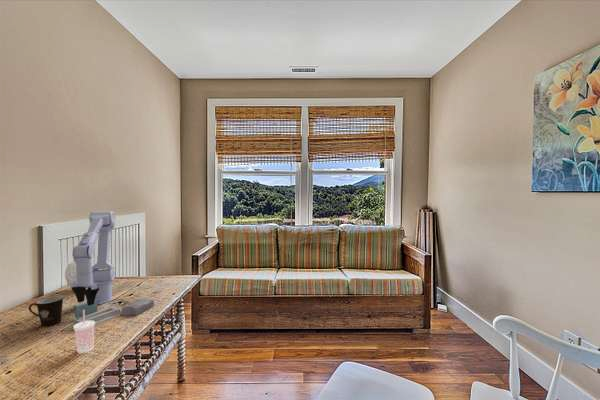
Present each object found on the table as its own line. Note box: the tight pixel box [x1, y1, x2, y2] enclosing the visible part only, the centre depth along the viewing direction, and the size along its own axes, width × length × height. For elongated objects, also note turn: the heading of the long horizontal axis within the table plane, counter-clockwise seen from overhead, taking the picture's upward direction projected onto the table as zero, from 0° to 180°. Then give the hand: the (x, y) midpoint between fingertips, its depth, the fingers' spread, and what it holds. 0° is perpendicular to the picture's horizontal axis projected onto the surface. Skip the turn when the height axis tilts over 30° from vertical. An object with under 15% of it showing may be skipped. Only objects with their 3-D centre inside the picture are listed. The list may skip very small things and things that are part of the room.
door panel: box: [74, 300, 99, 319], centre depth 135 cm, size 2×8×6 cm, turn 152°
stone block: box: [120, 298, 155, 316], centre depth 141 cm, size 12×5×10 cm
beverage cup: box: [73, 310, 96, 354], centre depth 107 cm, size 6×6×14 cm
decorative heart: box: [64, 259, 77, 289], centre depth 169 cm, size 18×11×17 cm, turn 25°
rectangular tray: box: [73, 305, 122, 326], centre depth 131 cm, size 7×15×3 cm, turn 152°
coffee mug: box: [28, 295, 64, 328], centre depth 129 cm, size 12×9×10 cm
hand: (85, 303), depth 135 cm, fingers open, 7 cm apart
